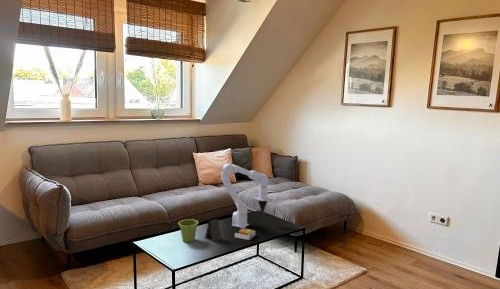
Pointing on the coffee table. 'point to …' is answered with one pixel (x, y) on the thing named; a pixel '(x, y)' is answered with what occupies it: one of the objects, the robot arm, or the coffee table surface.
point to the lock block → (245, 231)
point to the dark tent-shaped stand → (213, 231)
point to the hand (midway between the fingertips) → (262, 211)
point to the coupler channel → (245, 235)
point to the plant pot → (188, 229)
